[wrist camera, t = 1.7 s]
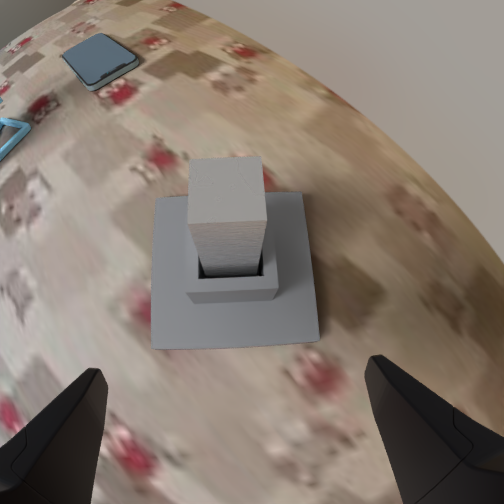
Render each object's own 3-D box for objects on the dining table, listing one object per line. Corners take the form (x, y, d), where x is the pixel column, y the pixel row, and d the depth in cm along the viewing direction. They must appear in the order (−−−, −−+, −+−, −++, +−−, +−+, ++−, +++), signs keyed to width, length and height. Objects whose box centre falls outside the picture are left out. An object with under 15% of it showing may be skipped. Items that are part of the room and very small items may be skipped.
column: (256, 285, 23) (269, 222, 13) (208, 287, 22) (184, 226, 12) (252, 235, 24) (262, 147, 14) (207, 237, 24) (188, 151, 14)
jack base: (315, 341, 23) (339, 334, 17) (155, 349, 22) (130, 344, 17) (299, 198, 27) (312, 159, 21) (159, 204, 26) (141, 166, 21)
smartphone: (101, 30, 36) (140, 56, 32) (103, 38, 37) (143, 66, 33) (59, 54, 34) (87, 87, 30) (62, 62, 35) (91, 96, 31)
